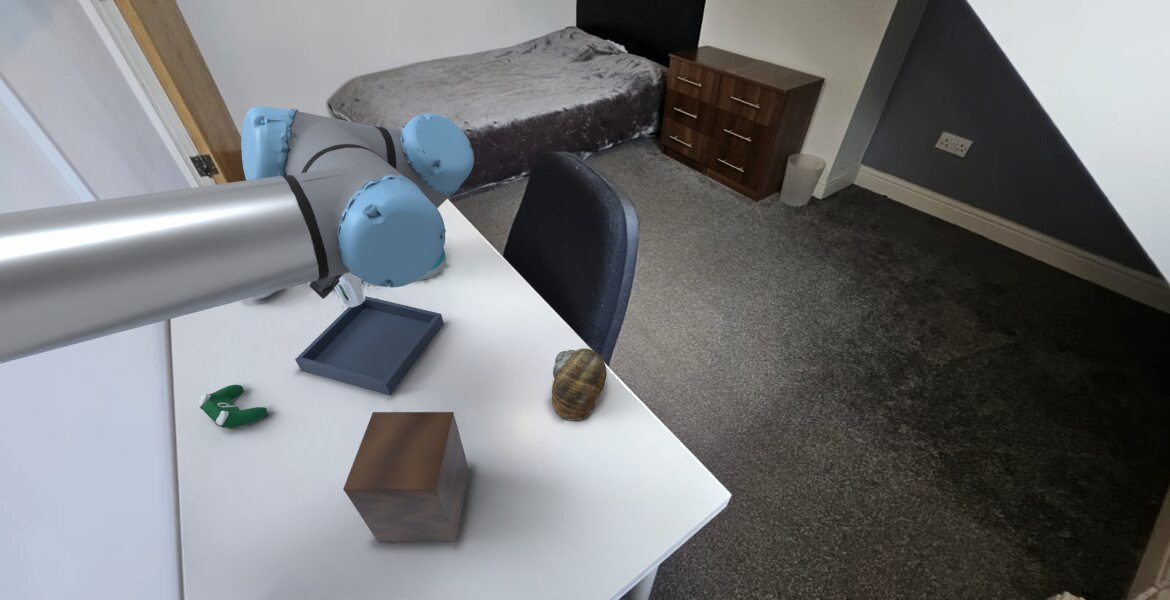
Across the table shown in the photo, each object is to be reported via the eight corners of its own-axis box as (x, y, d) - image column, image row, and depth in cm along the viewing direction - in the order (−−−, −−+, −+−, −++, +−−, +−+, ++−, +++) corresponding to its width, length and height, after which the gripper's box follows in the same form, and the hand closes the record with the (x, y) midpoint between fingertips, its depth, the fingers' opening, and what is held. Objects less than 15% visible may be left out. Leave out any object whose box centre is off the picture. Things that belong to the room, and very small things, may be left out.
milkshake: (350, 317, 71) (327, 264, 64) (333, 301, 73) (309, 248, 67) (378, 302, 73) (358, 250, 67) (360, 287, 76) (340, 235, 69)
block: (377, 542, 60) (342, 489, 51) (399, 469, 68) (372, 411, 58) (456, 541, 60) (435, 488, 51) (469, 469, 68) (453, 411, 59)
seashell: (567, 360, 84) (567, 328, 79) (615, 379, 81) (619, 347, 76) (535, 407, 76) (533, 375, 71) (587, 430, 73) (588, 398, 68)
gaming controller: (232, 403, 78) (190, 405, 72) (241, 382, 78) (200, 383, 72) (262, 431, 74) (220, 436, 68) (271, 409, 74) (230, 412, 68)
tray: (301, 370, 81) (294, 359, 79) (365, 305, 94) (360, 294, 92) (390, 395, 77) (385, 384, 75) (444, 324, 90) (441, 313, 88)
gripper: (357, 275, 52) (303, 335, 68) (454, 204, 64) (389, 268, 80) (304, 223, 50) (261, 296, 66) (414, 159, 62) (356, 234, 78)
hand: (331, 281), depth 73 cm, fingers closed on milkshake, 5 cm apart
